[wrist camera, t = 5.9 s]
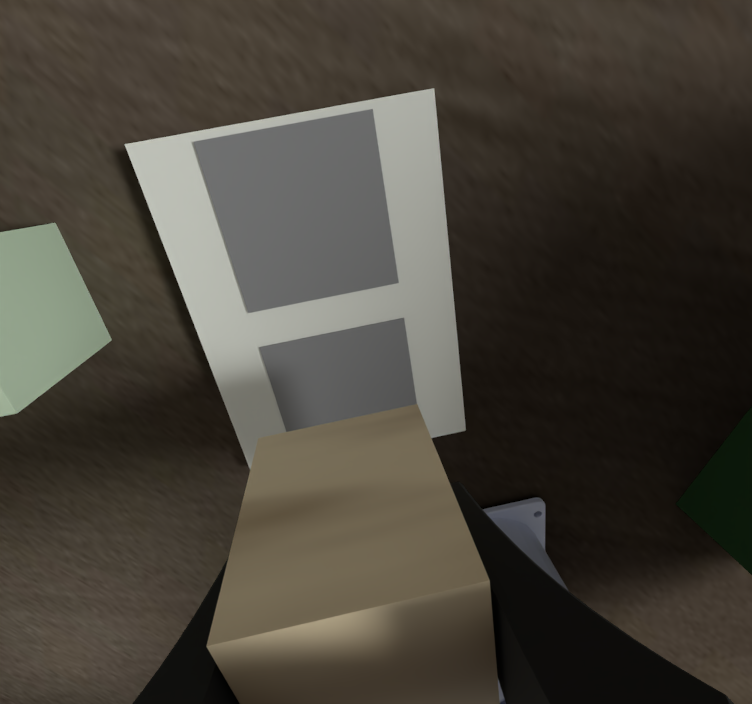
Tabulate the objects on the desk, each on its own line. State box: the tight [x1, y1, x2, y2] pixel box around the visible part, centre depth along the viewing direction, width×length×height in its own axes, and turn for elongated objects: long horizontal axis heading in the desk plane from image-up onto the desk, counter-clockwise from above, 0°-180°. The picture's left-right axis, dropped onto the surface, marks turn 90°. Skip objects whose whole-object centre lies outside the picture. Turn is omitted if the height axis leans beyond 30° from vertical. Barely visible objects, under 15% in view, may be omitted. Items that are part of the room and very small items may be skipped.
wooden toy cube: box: [206, 404, 500, 704], centre depth 11 cm, size 5×5×6 cm
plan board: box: [125, 88, 466, 470], centre depth 18 cm, size 15×11×1 cm
